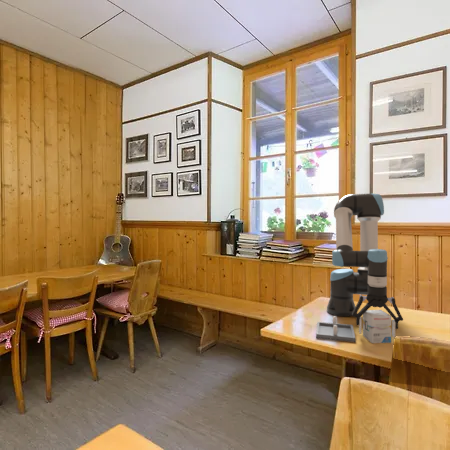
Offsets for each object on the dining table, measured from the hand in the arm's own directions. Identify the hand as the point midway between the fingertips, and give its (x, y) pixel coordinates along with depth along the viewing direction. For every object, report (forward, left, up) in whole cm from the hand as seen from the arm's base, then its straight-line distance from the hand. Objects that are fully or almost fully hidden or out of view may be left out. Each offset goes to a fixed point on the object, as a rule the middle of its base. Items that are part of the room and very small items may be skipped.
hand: (376, 334), depth 139 cm
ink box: (0, 0, -2) cm, 2 cm away
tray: (-2, -17, -2) cm, 17 cm away
